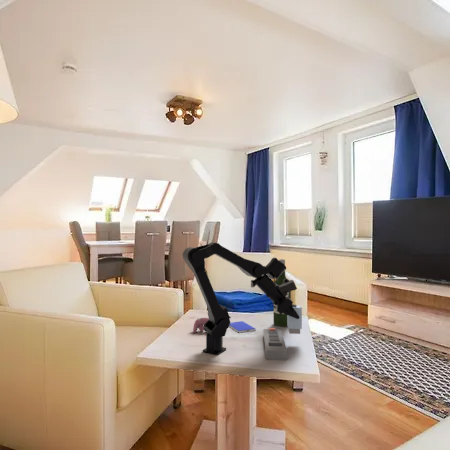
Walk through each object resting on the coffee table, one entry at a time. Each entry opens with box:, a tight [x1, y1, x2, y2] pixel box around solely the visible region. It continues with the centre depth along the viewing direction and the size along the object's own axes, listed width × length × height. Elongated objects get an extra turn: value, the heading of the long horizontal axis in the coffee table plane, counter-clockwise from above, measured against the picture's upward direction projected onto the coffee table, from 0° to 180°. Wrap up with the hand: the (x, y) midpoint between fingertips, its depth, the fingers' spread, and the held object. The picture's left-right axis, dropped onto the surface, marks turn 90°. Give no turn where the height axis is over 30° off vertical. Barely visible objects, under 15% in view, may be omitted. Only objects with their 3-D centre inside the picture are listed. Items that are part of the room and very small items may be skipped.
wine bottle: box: [273, 258, 292, 328], centre depth 155 cm, size 8×8×30 cm
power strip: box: [263, 327, 288, 361], centre depth 129 cm, size 31×7×4 cm, turn 176°
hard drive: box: [228, 320, 257, 334], centre depth 150 cm, size 2×8×12 cm
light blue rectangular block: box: [287, 303, 303, 335], centre depth 129 cm, size 4×5×11 cm
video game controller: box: [192, 317, 209, 334], centre depth 144 cm, size 10×5×7 cm, turn 84°
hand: (298, 316), depth 129 cm, fingers closed on light blue rectangular block, 4 cm apart
